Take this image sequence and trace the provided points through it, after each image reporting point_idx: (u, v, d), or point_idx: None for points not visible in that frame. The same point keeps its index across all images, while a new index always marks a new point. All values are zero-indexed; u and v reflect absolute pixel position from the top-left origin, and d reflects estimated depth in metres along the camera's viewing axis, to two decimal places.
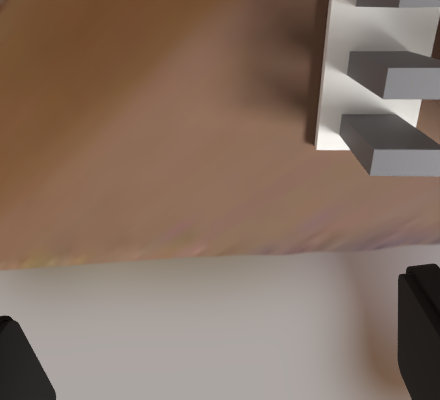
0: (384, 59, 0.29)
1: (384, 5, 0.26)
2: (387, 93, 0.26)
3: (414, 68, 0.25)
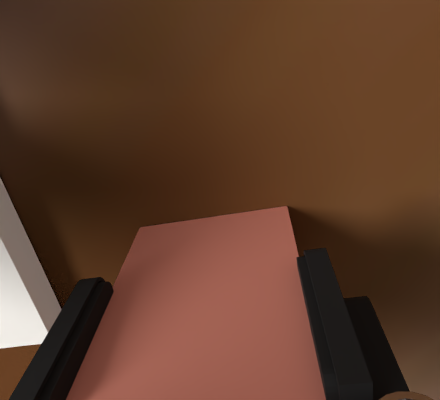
0: None
1: None
2: None
3: None
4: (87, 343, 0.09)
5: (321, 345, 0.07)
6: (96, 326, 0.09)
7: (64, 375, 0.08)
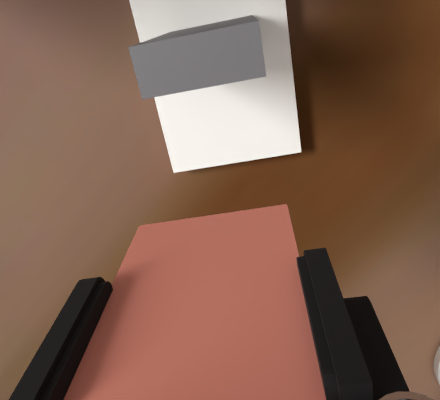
0: None
1: None
2: None
3: None
4: (87, 343, 0.09)
5: (321, 345, 0.07)
6: None
7: (64, 375, 0.08)
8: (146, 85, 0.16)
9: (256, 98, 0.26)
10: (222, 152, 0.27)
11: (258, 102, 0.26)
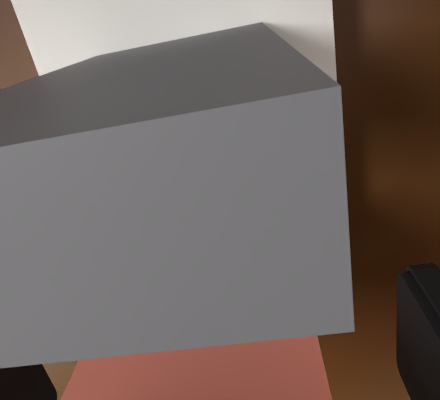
0: None
1: None
2: None
3: None
4: None
5: None
6: None
7: None
8: None
9: None
10: None
11: None
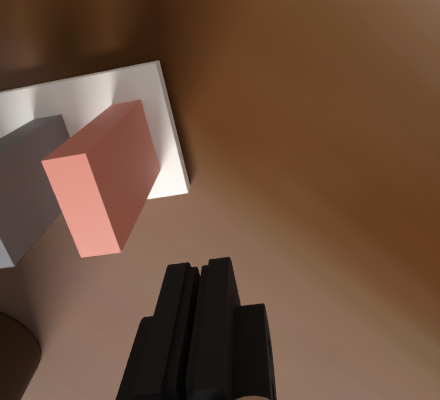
0: None
1: None
2: None
3: None
4: (191, 327, 0.09)
5: (193, 352, 0.07)
6: (194, 310, 0.09)
7: (182, 357, 0.07)
8: (2, 262, 0.19)
9: None
10: (163, 146, 0.27)
11: None
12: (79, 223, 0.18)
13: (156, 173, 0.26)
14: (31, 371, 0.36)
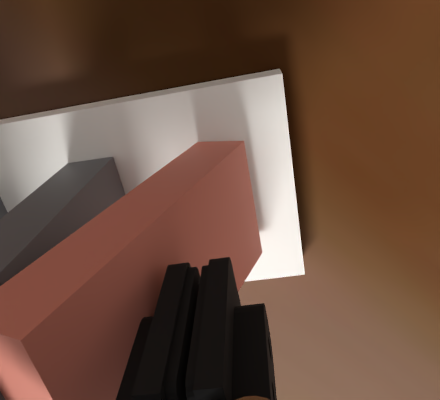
0: None
1: None
2: None
3: None
4: (191, 327, 0.09)
5: (193, 352, 0.07)
6: (194, 310, 0.09)
7: (182, 357, 0.07)
8: None
9: None
10: (275, 206, 0.17)
11: None
12: None
13: (251, 263, 0.16)
14: None
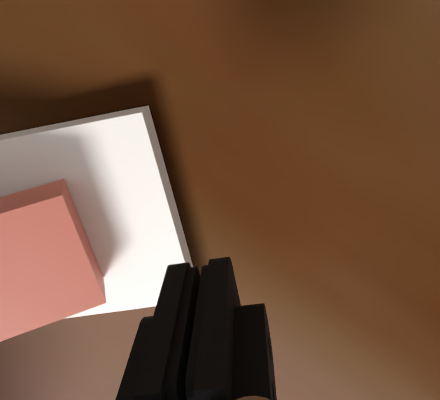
0: None
1: None
2: None
3: None
4: (191, 327, 0.09)
5: (194, 352, 0.07)
6: (194, 310, 0.09)
7: (182, 357, 0.07)
8: None
9: None
10: (156, 236, 0.17)
11: (69, 186, 0.16)
12: None
13: (77, 307, 0.16)
14: None
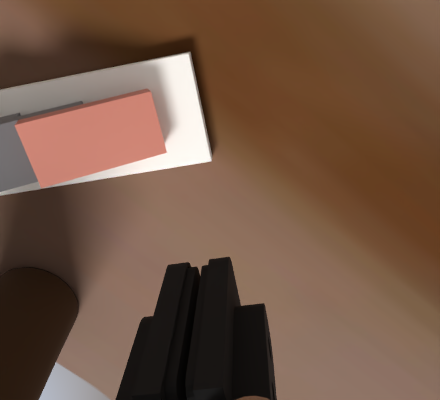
0: None
1: None
2: None
3: None
4: (191, 327, 0.09)
5: (194, 352, 0.07)
6: (194, 310, 0.09)
7: (182, 357, 0.07)
8: None
9: None
10: (192, 121, 0.33)
11: None
12: None
13: (152, 153, 0.32)
14: (72, 321, 0.42)
